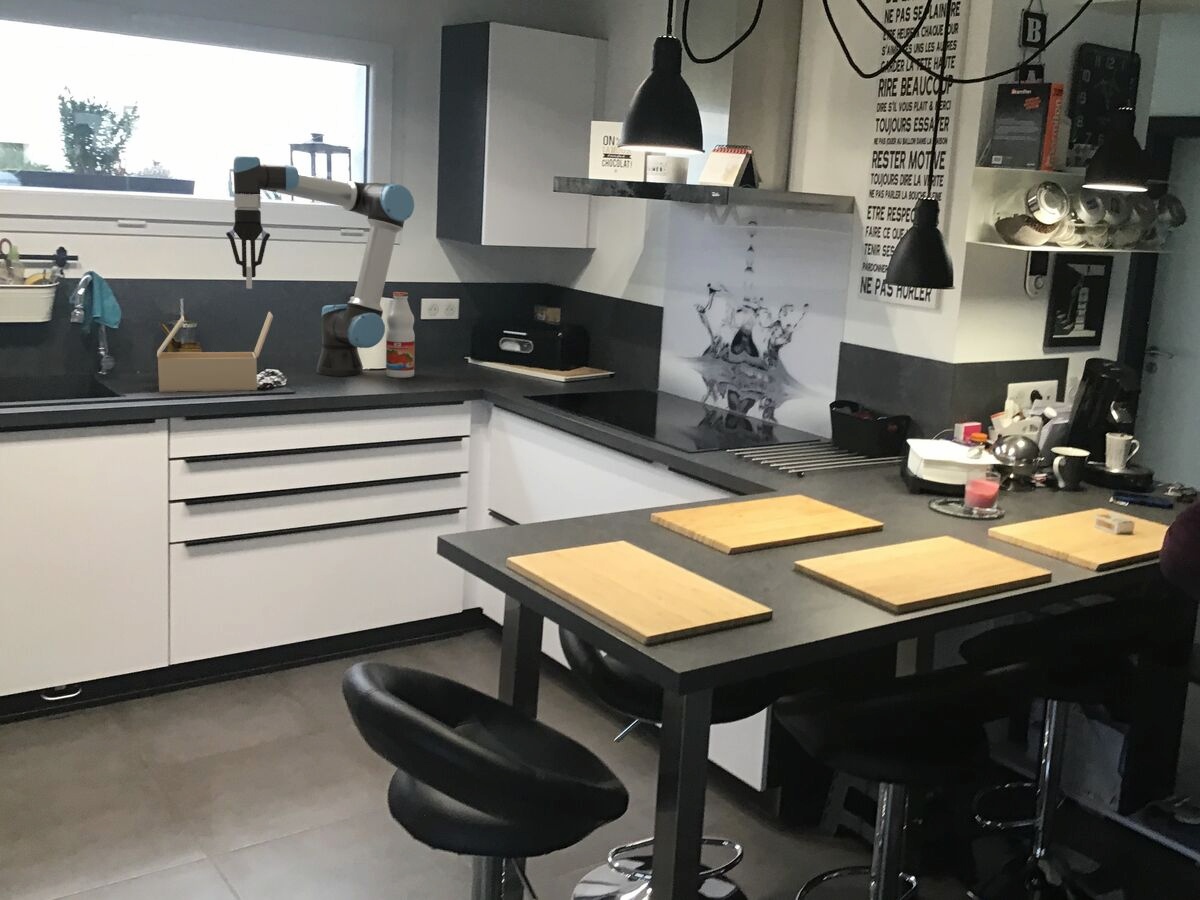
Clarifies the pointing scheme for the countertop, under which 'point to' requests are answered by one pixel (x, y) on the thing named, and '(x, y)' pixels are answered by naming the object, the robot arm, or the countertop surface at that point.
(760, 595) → the countertop surface
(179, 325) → the flap
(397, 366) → the fruit juice
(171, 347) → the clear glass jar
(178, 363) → the carton
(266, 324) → the flap
